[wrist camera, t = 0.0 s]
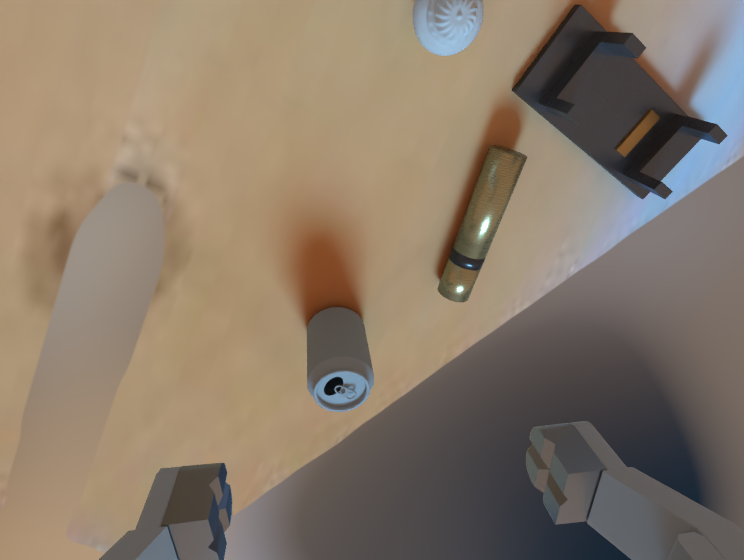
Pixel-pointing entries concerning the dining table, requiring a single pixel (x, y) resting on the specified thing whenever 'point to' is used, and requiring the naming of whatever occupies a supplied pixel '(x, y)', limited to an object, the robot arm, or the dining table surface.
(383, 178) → the dining table surface
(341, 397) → the can
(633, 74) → the stand
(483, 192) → the tube
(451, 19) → the light grey rounded piece
